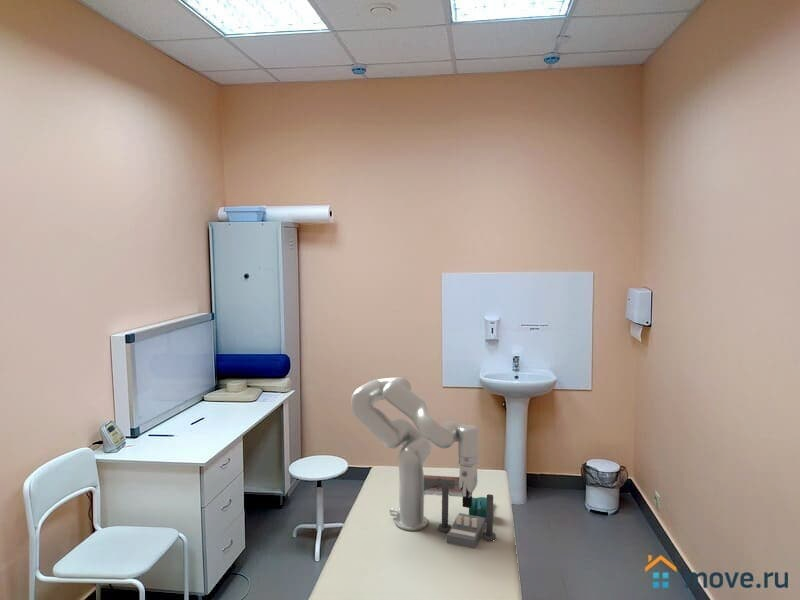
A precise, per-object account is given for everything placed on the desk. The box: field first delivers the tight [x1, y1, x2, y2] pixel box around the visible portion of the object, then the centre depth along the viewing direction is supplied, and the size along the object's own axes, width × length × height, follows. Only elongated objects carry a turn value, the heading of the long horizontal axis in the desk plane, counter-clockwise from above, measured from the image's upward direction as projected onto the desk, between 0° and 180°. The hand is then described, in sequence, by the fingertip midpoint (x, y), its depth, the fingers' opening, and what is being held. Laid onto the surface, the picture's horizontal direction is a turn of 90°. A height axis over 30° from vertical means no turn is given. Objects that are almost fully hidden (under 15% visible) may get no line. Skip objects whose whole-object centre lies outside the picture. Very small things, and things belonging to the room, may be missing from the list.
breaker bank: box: [455, 514, 478, 528], centre depth 209 cm, size 8×1×3 cm, turn 69°
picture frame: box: [424, 474, 463, 497], centre depth 250 cm, size 16×2×22 cm
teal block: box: [468, 496, 487, 524], centre depth 227 cm, size 18×7×8 cm, turn 163°
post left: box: [437, 487, 452, 534], centre depth 211 cm, size 5×5×16 cm
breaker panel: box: [446, 512, 486, 549], centre depth 209 cm, size 10×18×3 cm, turn 159°
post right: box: [481, 493, 497, 542], centre depth 205 cm, size 5×5×16 cm
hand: (467, 506), depth 208 cm, fingers closed
